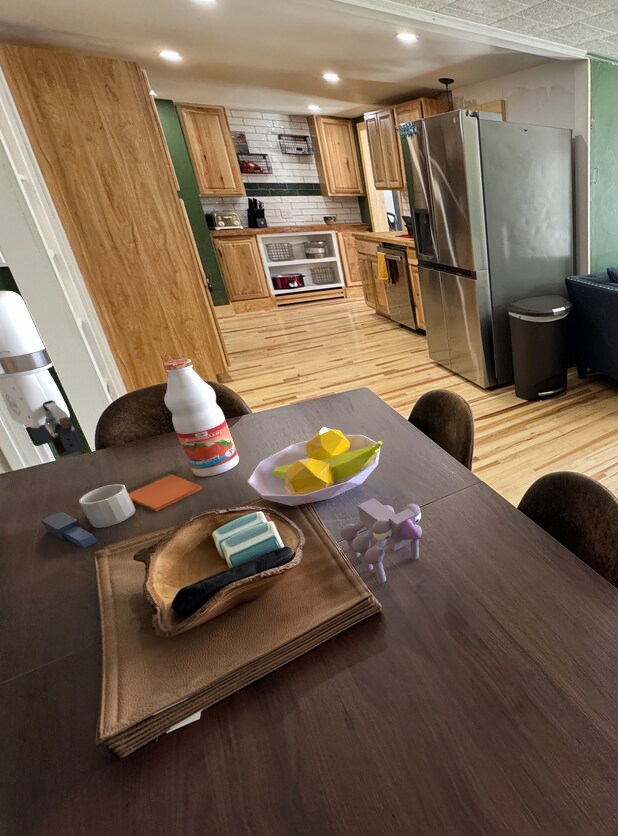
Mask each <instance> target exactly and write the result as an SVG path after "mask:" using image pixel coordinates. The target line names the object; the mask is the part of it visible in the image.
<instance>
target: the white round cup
mask: <svg viewBox="0 0 618 836" xmlns="http://www.w3.org/2000/svg"><path fill="white" fill-rule="evenodd" d="M78 503H79V505H80V507H81V509H82V511H83V512H84V514H85V516H86V518H87V521H88V522H89V524H90V525H91V526H92V527H93V528H96V529H97V528H98V529H101V528H107V527H111V526H115V525H117V524H120V523H122V522H124V521H126V520H128V519H130V518H131V517H133V516H134V514H135V513H136V512H137V509H136V506H135V504H134V501H132V500H131V498H130V496H129V491H128V489H127V488H126V485H124V484H122V483H120V484H119V483H115V484H114V483H113V484H108V485H103V486H101V487H97V488H95V489H93V490H90V491H88V492H87V493H85V494H84V495H82V496H81V497H80V498H79V500H78Z"/></svg>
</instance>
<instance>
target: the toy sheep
mask: <svg viewBox="0 0 618 836" xmlns="http://www.w3.org/2000/svg"><path fill="white" fill-rule="evenodd" d="M357 510H358V516H359V520H360V521H358V522H357V523H347V524H345V525H344V526H343V527H341V529H340V532H339V533H340V537H341V539H342V540H343V541H346V542H347V545H348V548H349V552H350V555H351V559H353V560H354V559H357V558H359V557H360V558H361V563H362V566H363V569H364V572H366V573H368V572H371V571H373V570H374V573H375V576H376V581H377V584H380V585H381V584H384V583H386V581H387V576H386V573H385V569H384V566H383V562H382V561H383V560H384V557H385V551H384V548H385V546H387V547H388V548H390V549H391V550H392V551H393V552H395V551H397V550H399V549H401V548H403V547H404V546H406V545H408V544H409V543H410V559H411V560H417V559H420V558H419V557H420V553H419V550H420V549H419V540H422V537H421V536H422V534H423V530H422V527H421V526H420V525H418V523H419V522H420V520H421V519H422V518H421V517H422V513H421V508H420V507H419V505H417V504H415V503H409V504H407V505H405V506H404V507H403V509H402V511H400V512H398V513H396V512H395V509H394V508H393V506H391V505H387V504H386V505H385V504H383V503H382V502H380V501H378V500H377V499H376V498H375V497H373V498H371V499H368V500H366V501H364V502H361V503H359V504H358V505H357ZM364 528H365V529H367V530H368V532H367V533H365V534H364V535H363V534H361V535H359V534H360V531H361V530H363V529H364ZM373 539H375V540H377V541H376V544H375V545H374V546H371V545H372V544H371V543H372V540H373Z"/></svg>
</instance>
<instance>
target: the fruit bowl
mask: <svg viewBox="0 0 618 836" xmlns="http://www.w3.org/2000/svg"><path fill="white" fill-rule="evenodd" d="M383 445H384V443H383V442H382V441H381V440H378V441H375V440H373V439H371V438H370V437H368V436H366V435H364V434H343V432H342V431H341V430H340V429H334V428H327V427H322V428H320V430H318V432H316V434H314V435H313V436H312V437H311V438H310V439H309V440H304V441H301V442H297V443H293V444H290V445H289V446H287V447H284V448H283V449H282V450H280V451H278V452H276V453H274V454H272V455H270V456H268V457H266V458H264V459H262V460H261V461H260V462H259V463H258V464H257V466H256V467H255V469H254V471H253V472H252V473H251V475H250V477H249V478H248V480H246V481H247V484H248V485H250V487H251V488H252V489H253V490H254V491H255V492H256V493H257V494H258V495H259V497H261V498H262V499H263V500H265V501H266V500H267V501H271V502H274V503H277V504H278V503H279V504H281V505H286V506H291V507H294V506H299V505H305V504H310V503H316V502H320V501H325V500H330V499H332V498H334V497H336V496H339V495H341V494H343V493H346V492H347V491H349V490H352V489H354V488H357V487H358V486H361V485H362V484H363V483H364V482H365V480H366V479H367V478H368V477H369V476H370V475H371V473H372V472H373V471H374V470H375V469H376V468H377V466H378V465H379V459H380V453H381V446H383Z"/></svg>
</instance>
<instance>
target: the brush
mask: <svg viewBox="0 0 618 836" xmlns="http://www.w3.org/2000/svg"><path fill="white" fill-rule="evenodd" d="M40 521H41V523H42V525H43V527H44V528H45V530H46V532H48V533H49V534H51V535H53V536H54V537H57V538H58V539H60V540H62V541H66V540H67V541H70V542H71V543H74V544H75V545H77V546H78V547H80V548H82V549H85V548H88V547H89V546H92V545H94V544H96V543H97V542H98V541H97V539H96V536H95V535H94V534H93V533H91V532H89V531H88V530H85V529H83V527H82V526H81V524H80V522H79V520H77V519H76V518H74V517H72V516H70V515H68V514H66V513H64V512H62V511H59V512H57V513H54V514H52V515H49V516H47V517H45V518H43V519H40Z"/></svg>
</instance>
